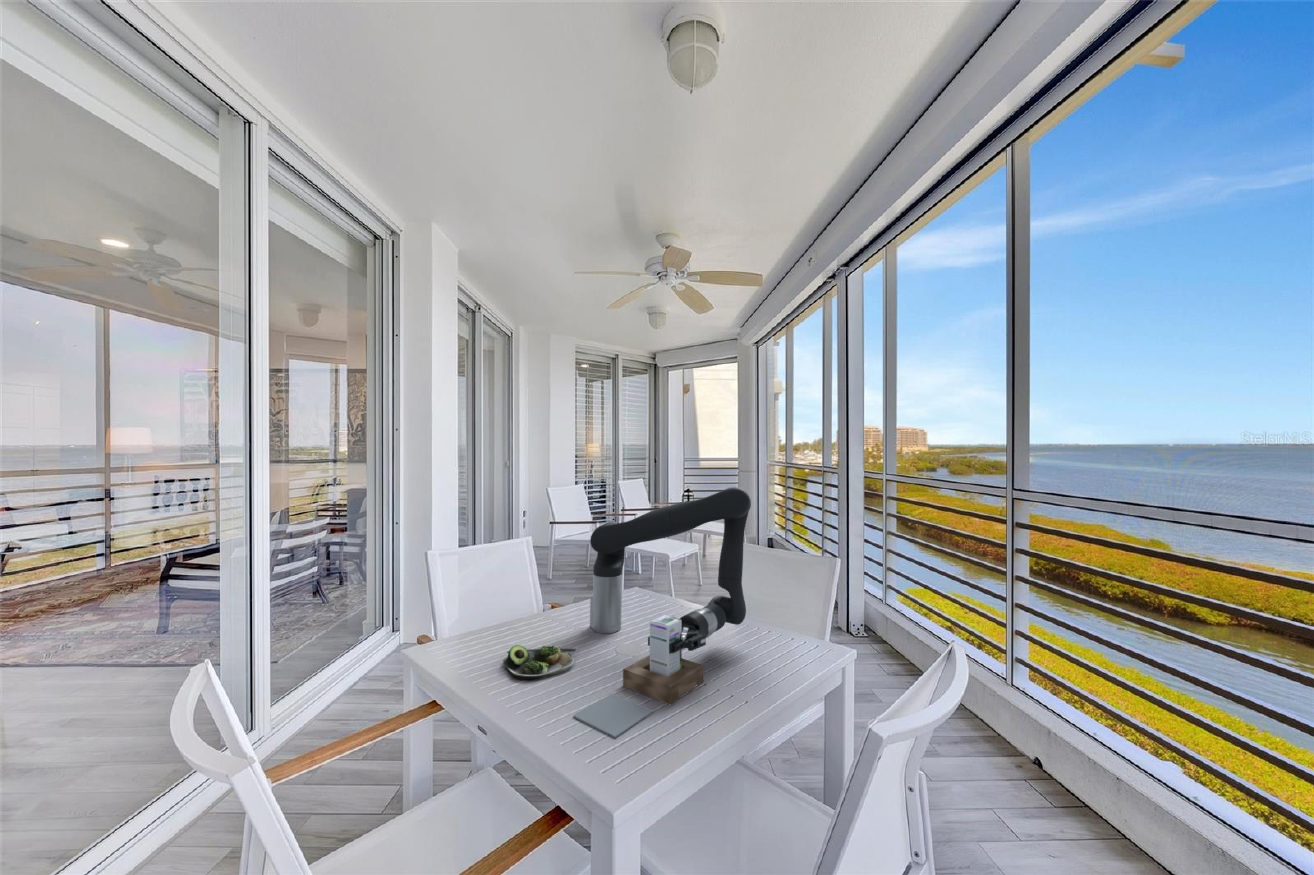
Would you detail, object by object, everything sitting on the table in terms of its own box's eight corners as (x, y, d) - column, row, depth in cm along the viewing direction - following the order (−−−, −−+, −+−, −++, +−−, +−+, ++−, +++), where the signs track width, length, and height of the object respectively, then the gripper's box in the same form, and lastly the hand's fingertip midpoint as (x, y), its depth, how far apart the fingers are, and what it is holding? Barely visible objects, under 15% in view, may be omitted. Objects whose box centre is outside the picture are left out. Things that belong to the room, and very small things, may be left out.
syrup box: (668, 688, 112) (669, 625, 112) (648, 680, 116) (649, 620, 116) (682, 679, 117) (682, 619, 117) (662, 672, 120) (663, 613, 121)
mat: (573, 717, 101) (573, 715, 101) (611, 695, 110) (611, 693, 110) (615, 738, 94) (615, 736, 94) (652, 713, 103) (652, 711, 103)
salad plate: (564, 645, 139) (564, 629, 140) (590, 669, 125) (591, 651, 125) (496, 660, 129) (497, 642, 129) (516, 687, 114) (517, 668, 114)
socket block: (622, 685, 115) (623, 668, 115) (658, 665, 126) (658, 650, 126) (670, 705, 107) (670, 686, 107) (703, 682, 118) (703, 665, 118)
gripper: (675, 605, 132) (636, 622, 119) (721, 617, 124) (684, 637, 110) (675, 633, 132) (636, 653, 119) (721, 646, 123) (684, 670, 110)
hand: (659, 645), depth 114 cm, fingers closed on syrup box, 6 cm apart
